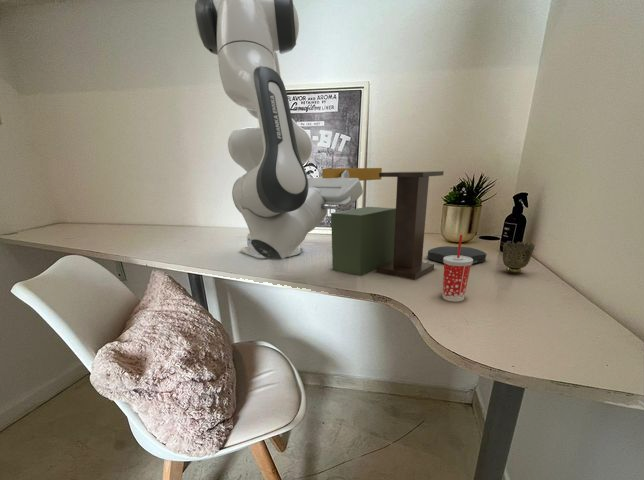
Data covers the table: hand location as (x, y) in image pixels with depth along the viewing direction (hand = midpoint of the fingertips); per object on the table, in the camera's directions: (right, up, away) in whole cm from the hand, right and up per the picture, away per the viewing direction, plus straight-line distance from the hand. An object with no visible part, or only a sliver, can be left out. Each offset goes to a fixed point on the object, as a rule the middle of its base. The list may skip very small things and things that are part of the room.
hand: (339, 173), depth 83 cm
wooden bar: (+4, 0, +5) cm, 7 cm away
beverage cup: (+26, -32, -7) cm, 41 cm away
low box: (+7, -20, +19) cm, 28 cm away
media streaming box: (+37, -18, +23) cm, 47 cm away
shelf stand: (+19, -23, +13) cm, 32 cm away
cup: (+48, -24, +9) cm, 54 cm away
